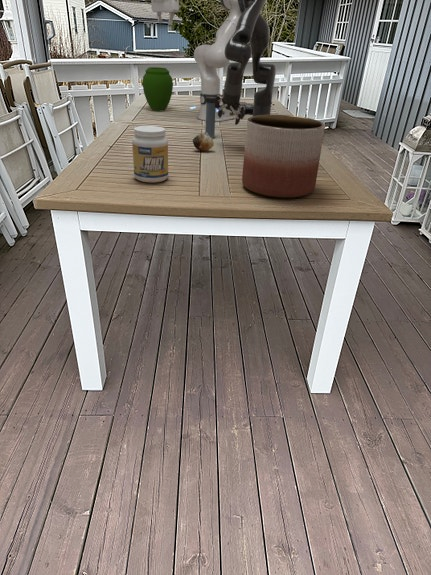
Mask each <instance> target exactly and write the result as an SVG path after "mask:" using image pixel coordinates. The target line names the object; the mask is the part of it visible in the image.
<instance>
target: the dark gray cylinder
mask: <svg viewBox="0 0 431 575" xmlns="http://www.w3.org/2000/svg"><path fill="white" fill-rule="evenodd" d="M215 112H216V108H215V103H209V102H206V120H205V130H204V131H205V132H207V133H208V135H209V136H210V137H211V138H212V139H215V137H216V136H215V133H216V132H215V130H216V121H215ZM205 132H204V133H205Z"/></svg>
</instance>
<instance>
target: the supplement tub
mask: <svg viewBox="0 0 431 575" xmlns="http://www.w3.org/2000/svg"><path fill="white" fill-rule="evenodd" d="M133 130H134V131H133V134H134V136H133V137H132V140H131V144H132V160H133V176H134V178H135V179H136V180H138V181H139V182H143V183H161V182H164V181H166V180H167V179H168V177H169V141H168V138H167V137H166V128H164V127H162V126H157V125H139V126H136V127H134V128H133Z"/></svg>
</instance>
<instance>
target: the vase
mask: <svg viewBox="0 0 431 575" xmlns="http://www.w3.org/2000/svg"><path fill="white" fill-rule="evenodd" d="M141 84H142V89H143V94H144V97H145V100H146V102H147V104H148V107H149V108H150V109H151V110H152V111H154V112H164V111H165V110H166V109H167V108H168V106H169V104H170V102H171V99H172V95H173V88H174V82H173V77H172V76H171V74H170V70H169V69H167V67H155V66H154V67H151V66H149V67H148V68H147V69H145V73H144V74H143V76H142V81H141Z"/></svg>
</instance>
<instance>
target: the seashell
mask: <svg viewBox="0 0 431 575" xmlns="http://www.w3.org/2000/svg"><path fill="white" fill-rule="evenodd" d="M192 143H193V147H195V149H196V150H198V151H201V152H207V151H209V150H211V149H212V148H213V147H214V145H215V142H214V138H211V137H210V136H209V135H208V133H207V132H202V133H199V134H197V135H196V136H195V137H193V139H192Z"/></svg>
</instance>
